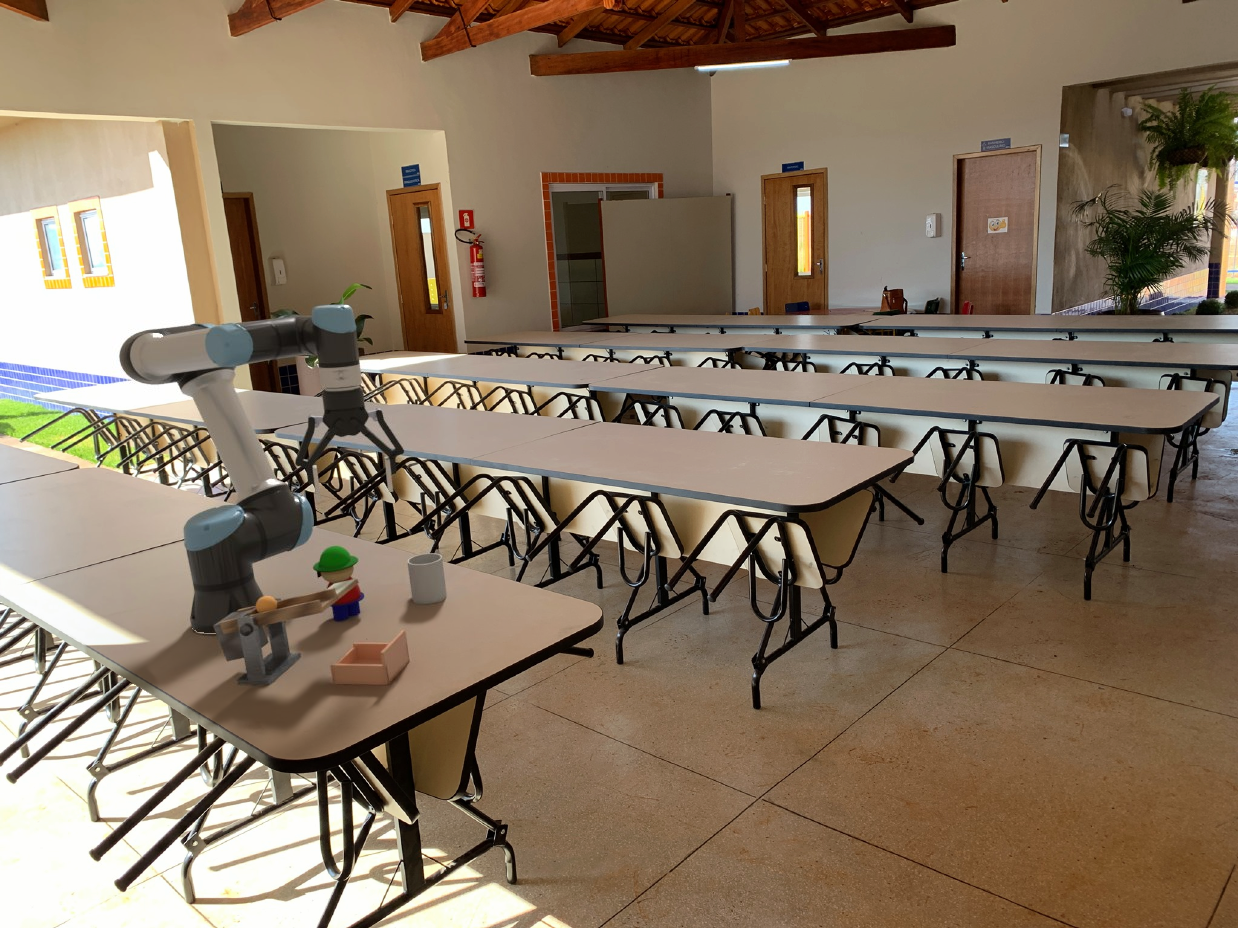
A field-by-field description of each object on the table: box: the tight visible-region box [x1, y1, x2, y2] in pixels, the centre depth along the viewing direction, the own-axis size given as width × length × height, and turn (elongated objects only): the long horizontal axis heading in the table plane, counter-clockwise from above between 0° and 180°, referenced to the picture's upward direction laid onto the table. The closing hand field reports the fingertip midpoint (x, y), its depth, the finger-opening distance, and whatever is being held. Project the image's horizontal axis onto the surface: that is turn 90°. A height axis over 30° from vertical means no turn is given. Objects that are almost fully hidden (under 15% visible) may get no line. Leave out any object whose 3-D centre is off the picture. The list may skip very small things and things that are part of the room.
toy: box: [312, 545, 365, 622], centre depth 186 cm, size 9×9×15 cm
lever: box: [213, 578, 359, 662], centre depth 165 cm, size 22×14×8 cm, turn 79°
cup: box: [407, 552, 447, 606], centre depth 194 cm, size 7×10×9 cm
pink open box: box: [330, 629, 410, 686], centre depth 160 cm, size 10×9×6 cm
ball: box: [256, 595, 277, 613], centre depth 161 cm, size 4×4×4 cm
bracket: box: [236, 598, 302, 686], centre depth 163 cm, size 6×11×12 cm, turn 170°
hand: (355, 494), depth 178 cm, fingers open, 13 cm apart
